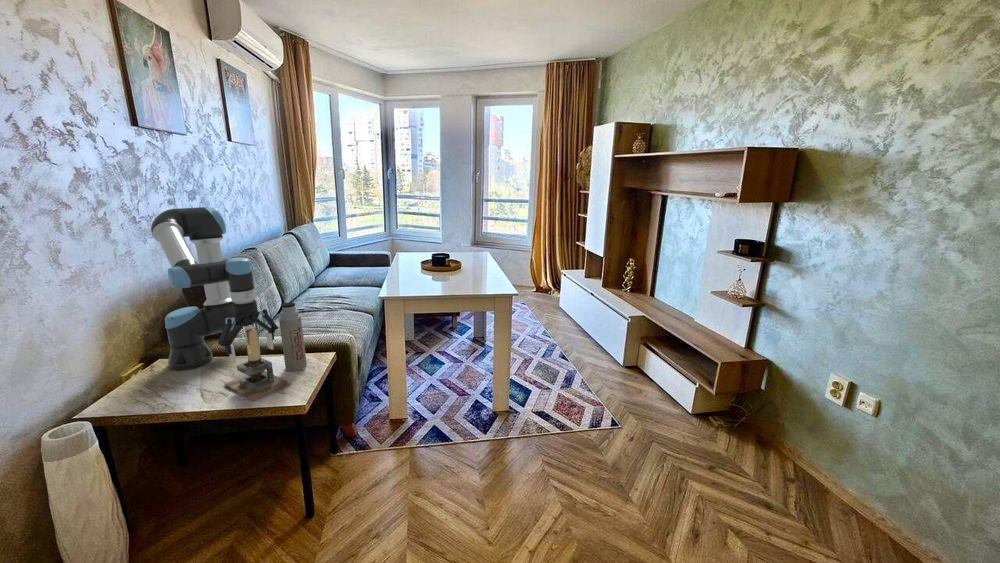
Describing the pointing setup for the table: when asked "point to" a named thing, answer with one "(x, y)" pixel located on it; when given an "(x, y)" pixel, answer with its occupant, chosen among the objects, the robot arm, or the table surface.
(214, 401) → the table surface
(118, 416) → the table surface
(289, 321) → the thermos bottle
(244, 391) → the collar stand
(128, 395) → the table surface
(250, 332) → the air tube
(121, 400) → the table surface
